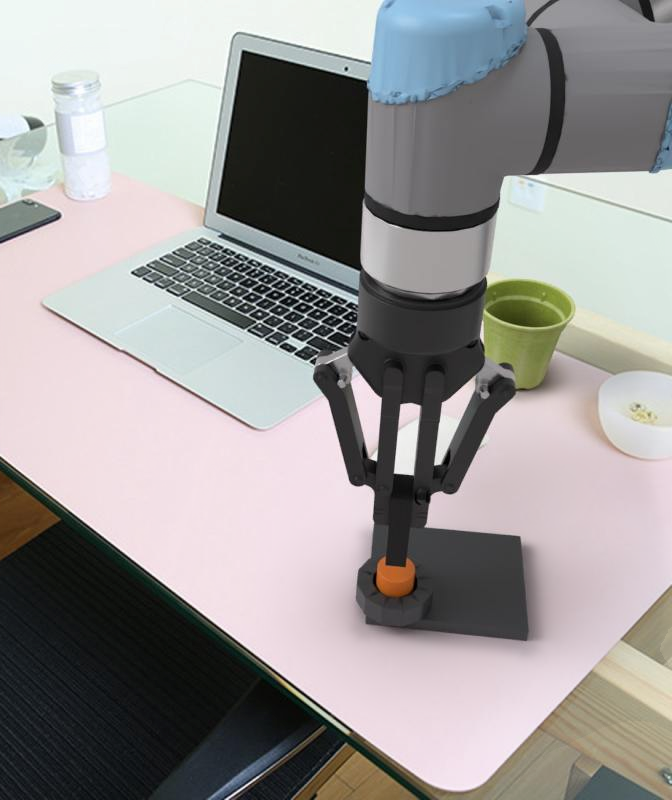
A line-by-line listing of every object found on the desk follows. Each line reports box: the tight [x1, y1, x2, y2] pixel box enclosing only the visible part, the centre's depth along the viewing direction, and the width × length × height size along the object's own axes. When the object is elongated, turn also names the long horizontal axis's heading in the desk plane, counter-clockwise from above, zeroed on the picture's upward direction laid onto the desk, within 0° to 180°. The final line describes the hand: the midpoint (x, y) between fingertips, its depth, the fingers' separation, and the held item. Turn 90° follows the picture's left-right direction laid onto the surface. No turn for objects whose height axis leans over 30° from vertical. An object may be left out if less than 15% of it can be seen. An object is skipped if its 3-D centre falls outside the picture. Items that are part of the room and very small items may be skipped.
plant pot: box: [482, 278, 576, 390], centre depth 96 cm, size 9×9×9 cm
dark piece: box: [355, 522, 530, 642], centre depth 74 cm, size 13×11×3 cm
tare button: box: [376, 557, 415, 598], centre depth 72 cm, size 3×3×2 cm
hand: (396, 552), depth 70 cm, fingers closed
